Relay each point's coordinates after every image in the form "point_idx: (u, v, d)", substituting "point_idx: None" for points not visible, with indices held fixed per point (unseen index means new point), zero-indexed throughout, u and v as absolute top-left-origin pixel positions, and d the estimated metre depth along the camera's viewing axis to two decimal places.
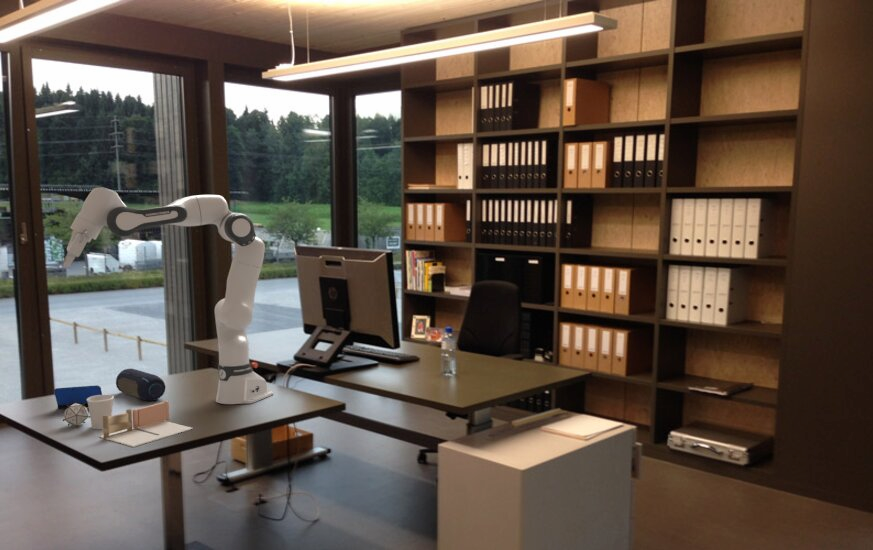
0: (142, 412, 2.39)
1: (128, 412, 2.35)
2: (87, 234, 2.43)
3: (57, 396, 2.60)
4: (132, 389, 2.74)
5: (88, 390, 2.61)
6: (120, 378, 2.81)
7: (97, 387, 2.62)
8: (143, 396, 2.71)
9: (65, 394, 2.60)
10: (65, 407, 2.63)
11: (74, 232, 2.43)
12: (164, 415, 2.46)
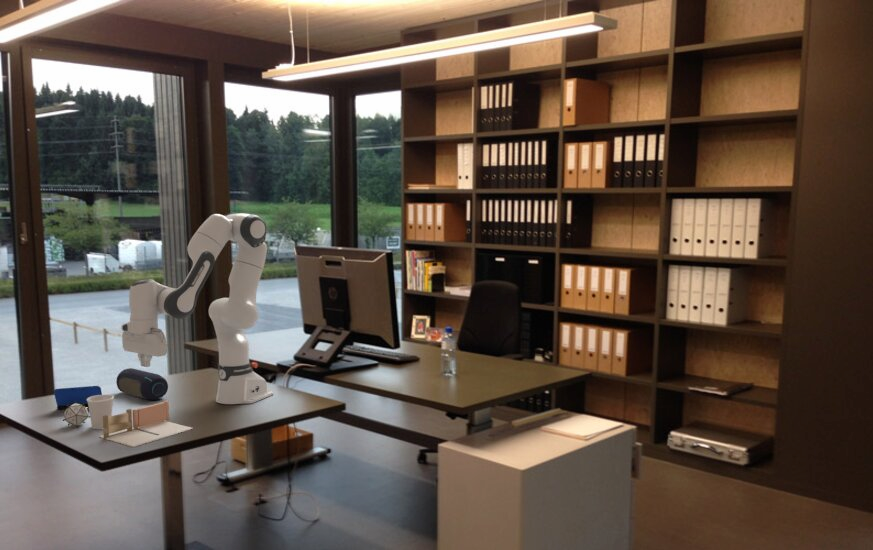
0: (142, 412, 2.39)
1: (128, 412, 2.35)
2: None
3: (57, 397, 2.59)
4: (134, 388, 2.75)
5: (88, 390, 2.61)
6: (121, 378, 2.81)
7: (97, 387, 2.61)
8: (146, 395, 2.72)
9: (65, 395, 2.59)
10: (65, 408, 2.63)
11: (140, 334, 2.43)
12: (164, 415, 2.46)
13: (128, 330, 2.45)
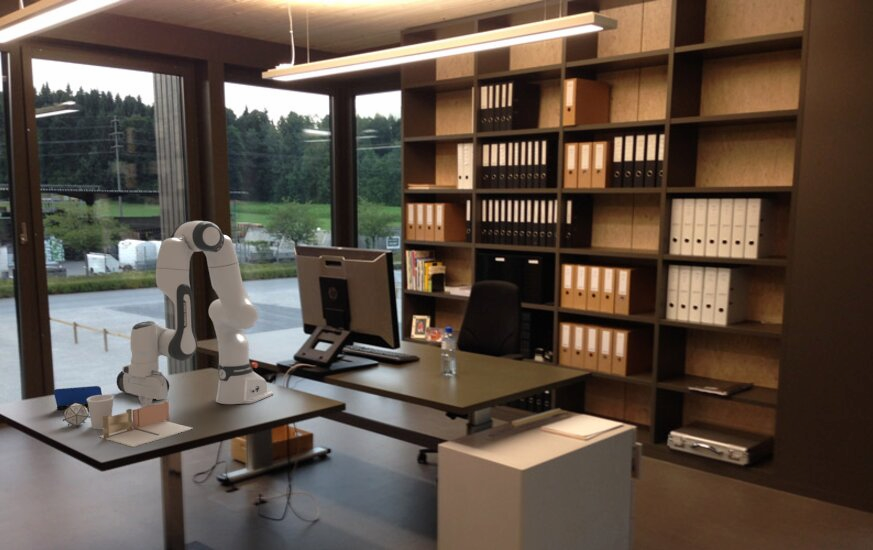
0: (142, 412, 2.39)
1: (128, 412, 2.35)
2: None
3: (57, 397, 2.59)
4: None
5: (88, 390, 2.61)
6: (122, 377, 2.81)
7: (97, 388, 2.61)
8: None
9: (65, 395, 2.59)
10: (64, 408, 2.62)
11: (141, 377, 2.44)
12: (164, 415, 2.46)
13: (129, 372, 2.46)
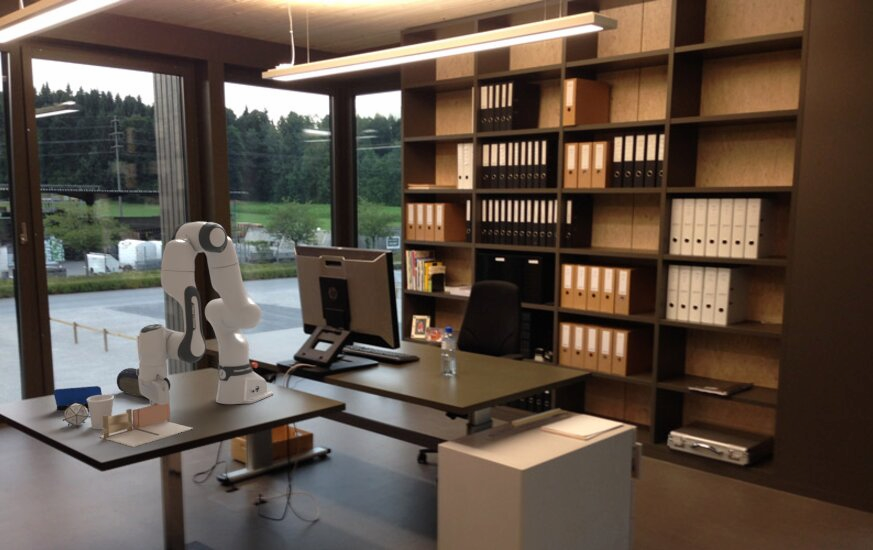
0: (142, 412, 2.39)
1: (128, 412, 2.35)
2: (161, 377, 2.43)
3: (57, 397, 2.58)
4: (137, 388, 2.76)
5: (88, 390, 2.60)
6: (122, 377, 2.81)
7: (97, 388, 2.61)
8: None
9: (65, 395, 2.59)
10: (64, 408, 2.62)
11: (147, 381, 2.42)
12: (165, 415, 2.46)
13: (139, 375, 2.45)
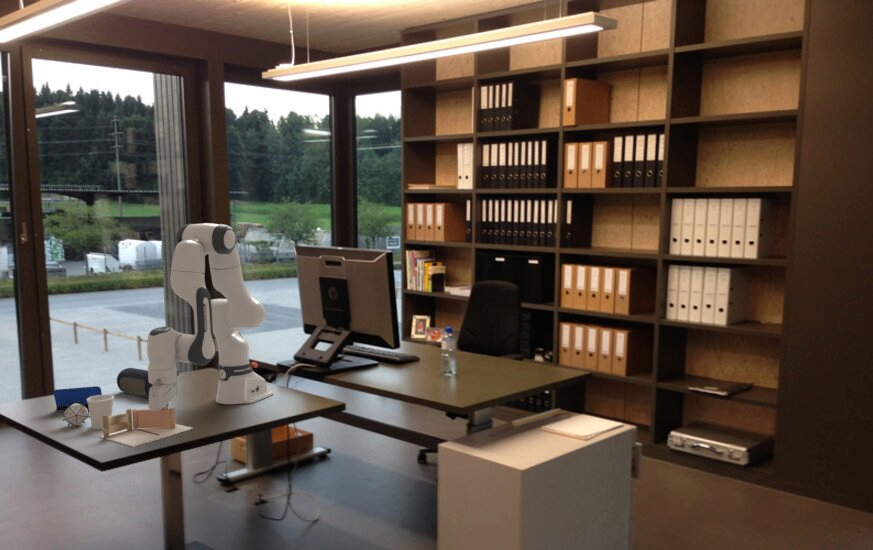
0: (142, 414, 2.37)
1: (128, 412, 2.35)
2: (162, 382, 2.35)
3: (56, 397, 2.58)
4: (138, 387, 2.76)
5: (88, 391, 2.60)
6: (123, 377, 2.82)
7: (97, 388, 2.60)
8: None
9: (65, 395, 2.58)
10: (64, 408, 2.61)
11: None
12: (168, 422, 2.38)
13: None
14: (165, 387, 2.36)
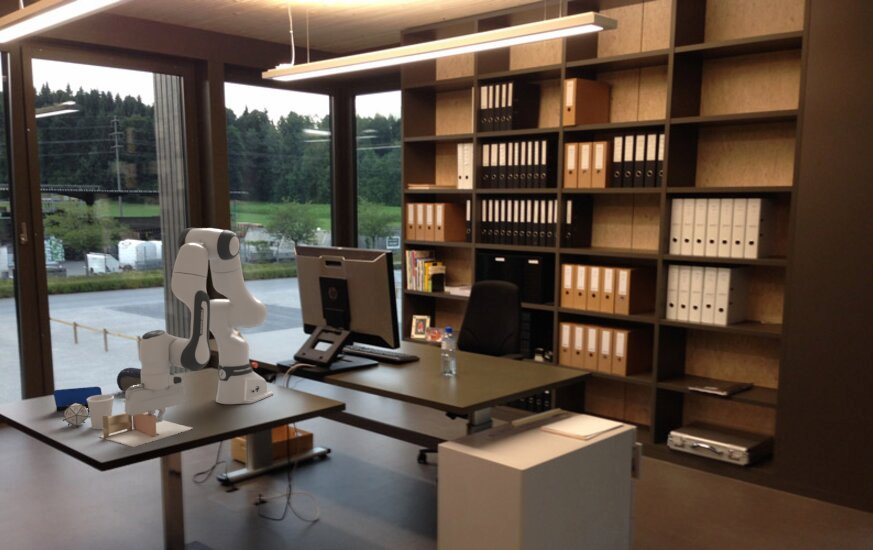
0: (136, 415, 2.35)
1: None
2: (145, 387, 2.29)
3: (56, 398, 2.57)
4: None
5: (88, 391, 2.60)
6: (123, 377, 2.82)
7: (97, 388, 2.60)
8: None
9: (65, 396, 2.58)
10: (64, 409, 2.61)
11: None
12: (149, 429, 2.30)
13: None
14: (149, 393, 2.29)
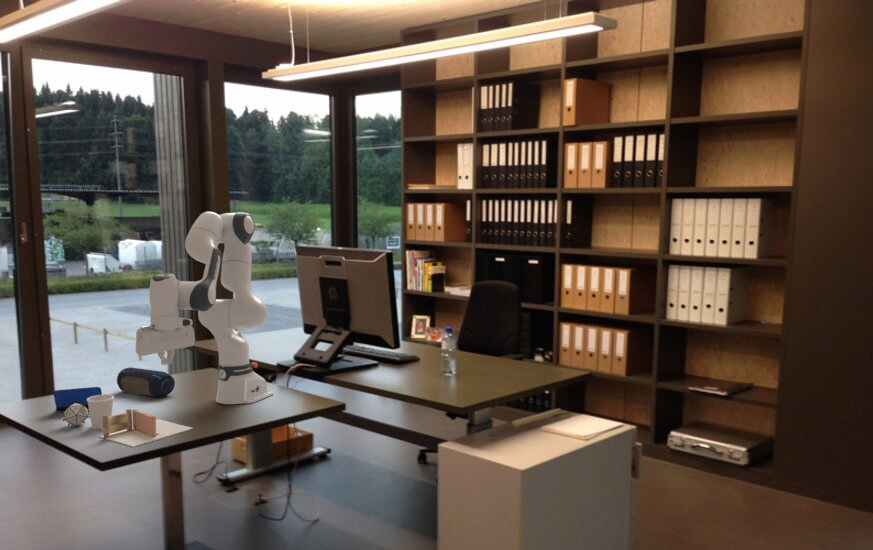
0: (136, 415, 2.35)
1: (128, 412, 2.35)
2: (155, 328, 2.33)
3: (56, 398, 2.57)
4: (141, 386, 2.78)
5: (88, 391, 2.59)
6: (124, 377, 2.83)
7: (97, 388, 2.60)
8: (155, 392, 2.76)
9: (65, 396, 2.57)
10: (64, 409, 2.60)
11: None
12: (149, 429, 2.30)
13: None
14: (159, 334, 2.33)
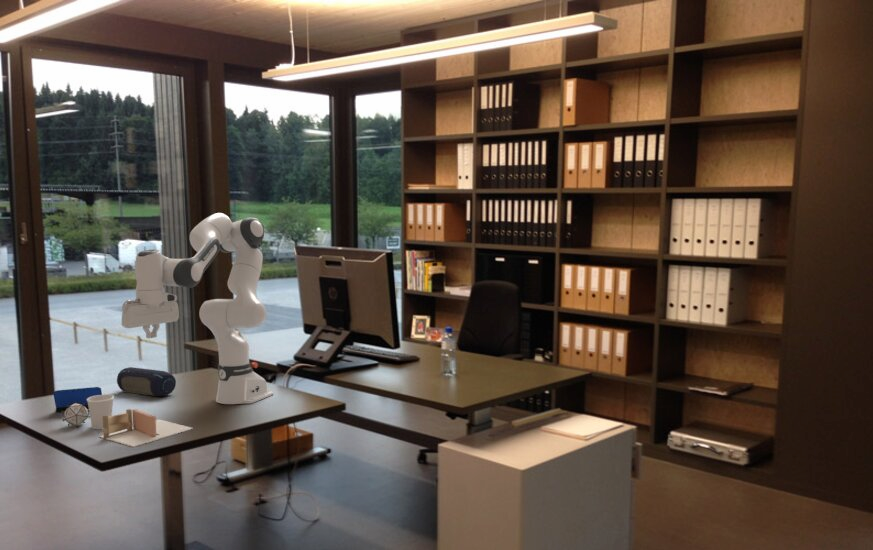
0: (136, 415, 2.35)
1: (128, 412, 2.35)
2: (141, 302, 2.40)
3: (56, 398, 2.56)
4: (142, 386, 2.79)
5: (88, 391, 2.59)
6: (124, 376, 2.83)
7: (98, 388, 2.60)
8: (157, 392, 2.77)
9: (65, 396, 2.57)
10: (64, 409, 2.60)
11: None
12: (149, 429, 2.30)
13: None
14: (144, 308, 2.41)
